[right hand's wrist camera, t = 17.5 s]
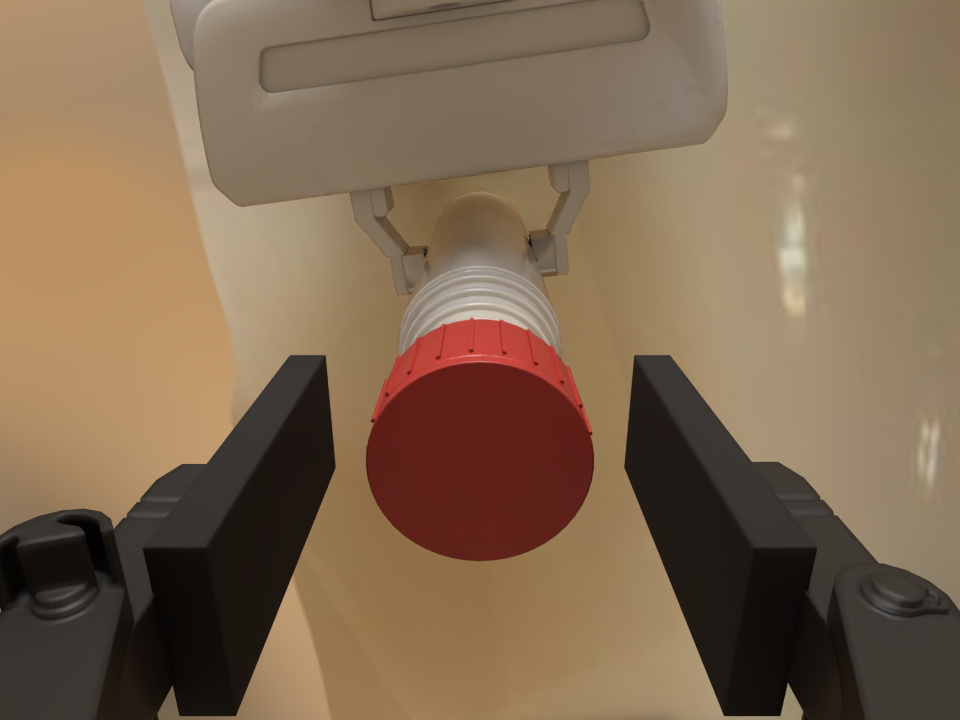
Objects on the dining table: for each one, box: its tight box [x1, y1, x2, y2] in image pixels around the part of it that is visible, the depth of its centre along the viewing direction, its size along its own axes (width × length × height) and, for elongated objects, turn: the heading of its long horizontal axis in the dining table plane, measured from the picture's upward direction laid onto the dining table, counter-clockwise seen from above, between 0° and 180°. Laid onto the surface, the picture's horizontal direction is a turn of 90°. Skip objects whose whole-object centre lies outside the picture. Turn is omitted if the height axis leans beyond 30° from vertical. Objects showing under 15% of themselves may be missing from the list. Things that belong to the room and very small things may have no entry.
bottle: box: [398, 191, 562, 359], centre depth 23 cm, size 5×5×23 cm
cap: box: [366, 318, 594, 561], centre depth 13 cm, size 4×4×3 cm
